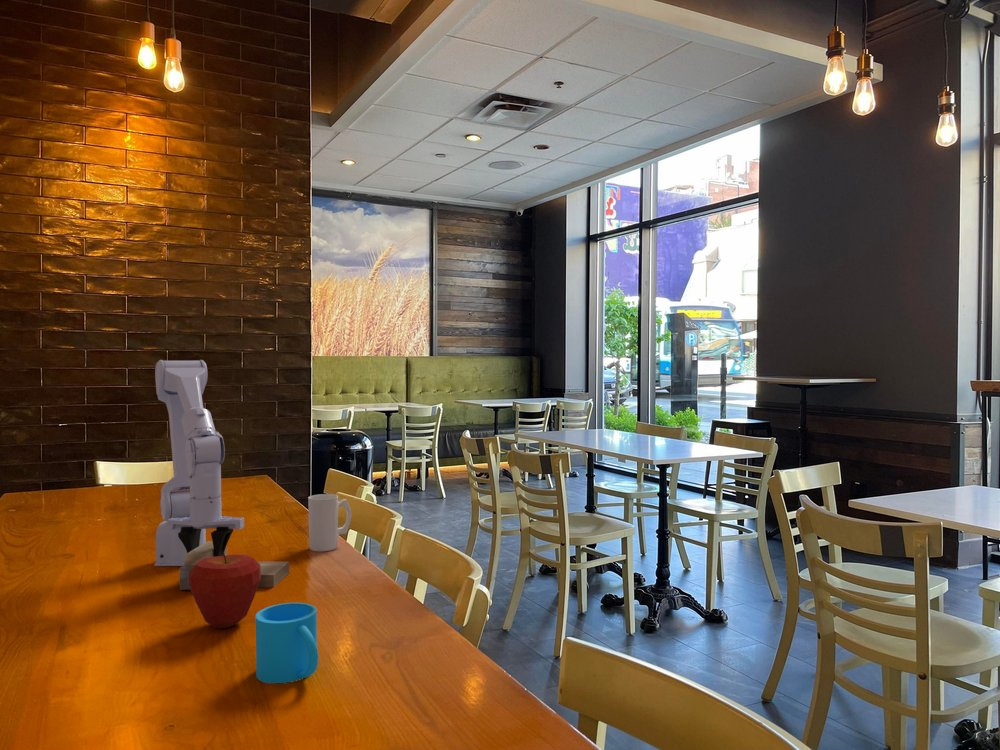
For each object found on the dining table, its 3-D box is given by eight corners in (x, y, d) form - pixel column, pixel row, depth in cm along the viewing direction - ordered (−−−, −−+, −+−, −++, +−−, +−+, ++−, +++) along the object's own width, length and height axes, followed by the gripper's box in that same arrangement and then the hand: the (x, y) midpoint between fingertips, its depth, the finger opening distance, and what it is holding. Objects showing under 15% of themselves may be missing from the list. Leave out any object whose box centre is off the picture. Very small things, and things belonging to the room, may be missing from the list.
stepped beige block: (179, 589, 132) (179, 557, 132) (208, 570, 144) (207, 541, 144) (200, 589, 132) (200, 557, 132) (227, 570, 144) (226, 541, 144)
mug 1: (245, 671, 98) (245, 612, 98) (299, 653, 103) (298, 598, 103) (287, 700, 89) (286, 636, 89) (343, 679, 95) (342, 619, 95)
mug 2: (312, 553, 158) (312, 500, 158) (305, 546, 164) (304, 495, 164) (356, 547, 163) (355, 496, 163) (347, 541, 169) (346, 491, 169)
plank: (181, 587, 135) (180, 574, 135) (202, 573, 144) (202, 561, 144) (273, 587, 134) (273, 574, 134) (289, 573, 143) (289, 561, 143)
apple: (217, 643, 107) (216, 565, 107) (175, 630, 113) (173, 555, 113) (275, 620, 116) (274, 548, 116) (233, 609, 122) (232, 540, 122)
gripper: (159, 500, 135) (160, 570, 135) (233, 500, 135) (234, 570, 135) (177, 493, 142) (178, 560, 142) (247, 493, 142) (248, 560, 142)
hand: (206, 565), depth 139 cm, fingers open, 4 cm apart
